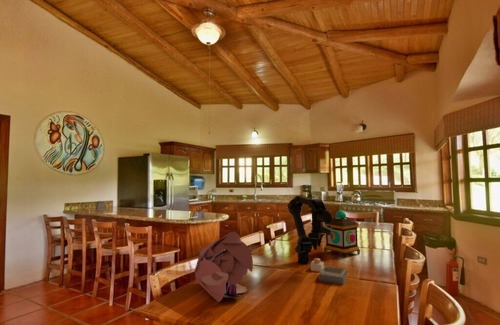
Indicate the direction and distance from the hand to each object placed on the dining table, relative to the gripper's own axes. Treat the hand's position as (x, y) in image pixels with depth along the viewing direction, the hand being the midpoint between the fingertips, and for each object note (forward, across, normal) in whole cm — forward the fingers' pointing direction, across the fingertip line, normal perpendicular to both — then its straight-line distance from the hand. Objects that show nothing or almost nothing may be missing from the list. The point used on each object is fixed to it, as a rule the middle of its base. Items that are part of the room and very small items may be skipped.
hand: (317, 248), depth 160 cm
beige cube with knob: (+12, 0, 0) cm, 12 cm away
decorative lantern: (+12, +43, -8) cm, 45 cm away
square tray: (+12, -12, -11) cm, 20 cm away
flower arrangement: (+12, -50, +32) cm, 60 cm away
